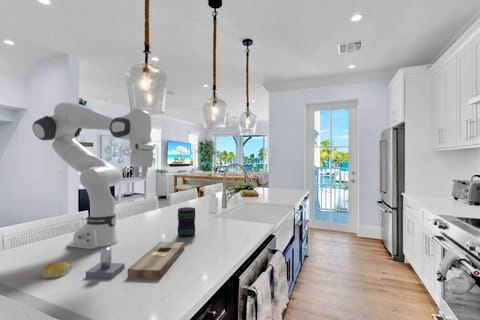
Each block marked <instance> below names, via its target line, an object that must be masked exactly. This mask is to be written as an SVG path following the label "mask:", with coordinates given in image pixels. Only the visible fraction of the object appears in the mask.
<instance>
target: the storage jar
mask: <svg viewBox="0 0 480 320" xmlns="http://www.w3.org/2000/svg"><path fill="white" fill-rule="evenodd" d="M195 221H196V208H195V207H190V206H189V207H188V206H187V207H185V206H184V207H179V208H178V209H177V224H178V225H177V237H178V238H181V239H189V238H194V237H196V222H195Z"/></svg>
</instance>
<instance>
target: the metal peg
mask: <svg viewBox="0 0 480 320" xmlns="http://www.w3.org/2000/svg"><path fill="white" fill-rule="evenodd" d="M99 263H100V269H102V270H105V269H109V268H111V263H112V247H110V246H104V247H101V248H100V261H99Z"/></svg>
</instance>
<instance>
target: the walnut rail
mask: <svg viewBox="0 0 480 320" xmlns="http://www.w3.org/2000/svg"><path fill="white" fill-rule="evenodd" d="M184 250H185V242H184V241H183V242H180V241H178V242H175V241H159V242H158V243H156V245H154V246H153V247H152V248H151V249H150V250H148V251H147V252H146V253H145V254H144V255H143V256H141V257H140V258H139V259H138V260H137V261H135V262H134V263H133V264H132V265H131V266H130V267H129V268H128V269H127V279H128V278H129V279H130V278H131V279H133V278H135V279H153V280H154V279H155V280H156V279H157V280H159V279H161V278H162V277H163V276H164V275H165V274H166V272H167V271H168V270H169V269H170V267H171V266H172V265H173V264H174V262H175V261H176V260H177V259H178V258H179V256H180V255H181V254H182V253H183V251H184Z"/></svg>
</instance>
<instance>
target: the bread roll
mask: <svg viewBox="0 0 480 320" xmlns="http://www.w3.org/2000/svg"><path fill="white" fill-rule="evenodd" d="M71 269H72V266H71V264H70V263H68V262H65V261H63V262H62V261H60V262H59V263H56V262H51V263H49V264H46V265H45V266H43V267H42V268H41V270H40V272H39V273H40V277H41V278H42V279H50V278H51V279H57V278H62V277H63V276H66V275H68V274H69V273H70V272H71Z"/></svg>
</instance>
